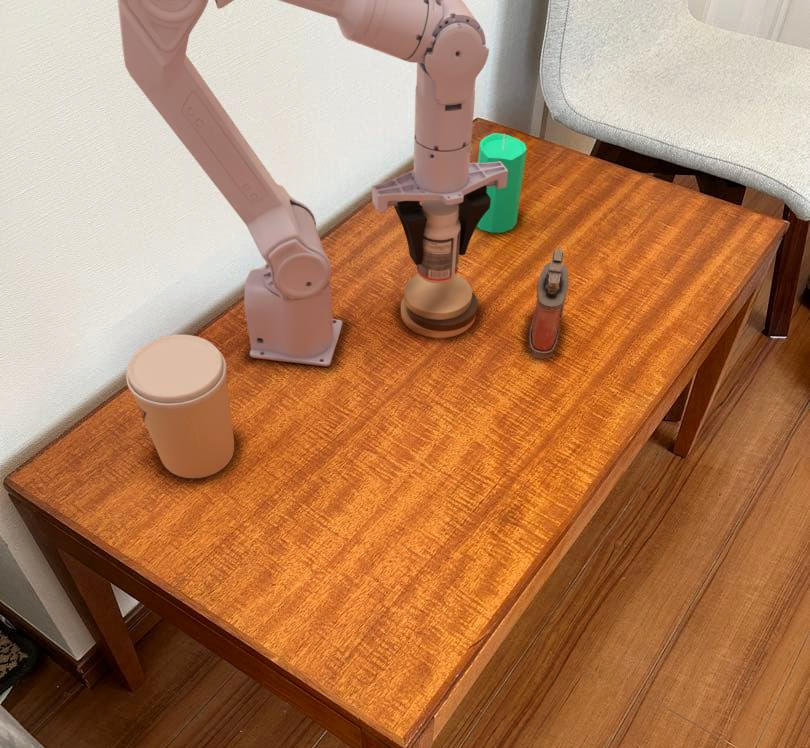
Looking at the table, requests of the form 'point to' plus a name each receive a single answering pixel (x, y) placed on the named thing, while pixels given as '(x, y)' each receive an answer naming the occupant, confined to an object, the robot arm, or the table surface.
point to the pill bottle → (440, 242)
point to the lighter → (549, 306)
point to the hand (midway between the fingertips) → (437, 254)
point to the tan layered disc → (438, 307)
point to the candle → (507, 198)
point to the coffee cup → (184, 403)
